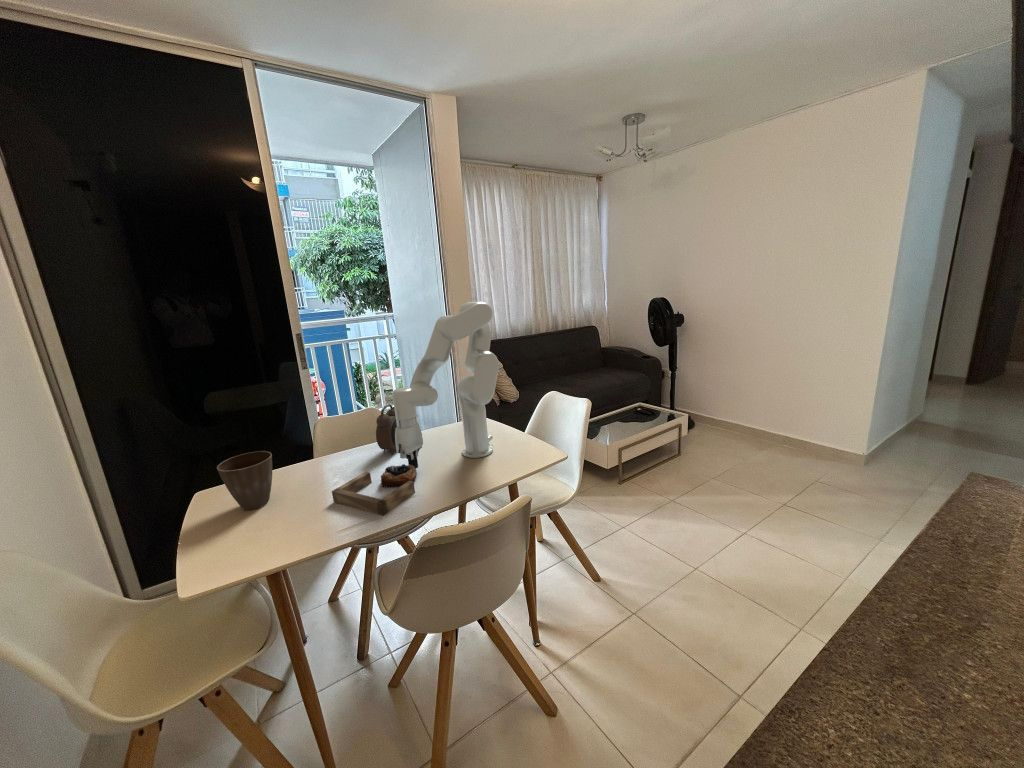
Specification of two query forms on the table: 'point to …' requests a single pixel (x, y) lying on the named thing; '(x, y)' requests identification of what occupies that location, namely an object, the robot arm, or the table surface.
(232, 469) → the plant pot
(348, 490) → the wooden u-shaped frame
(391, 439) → the alarm clock
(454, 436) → the table surface
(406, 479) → the pastry
